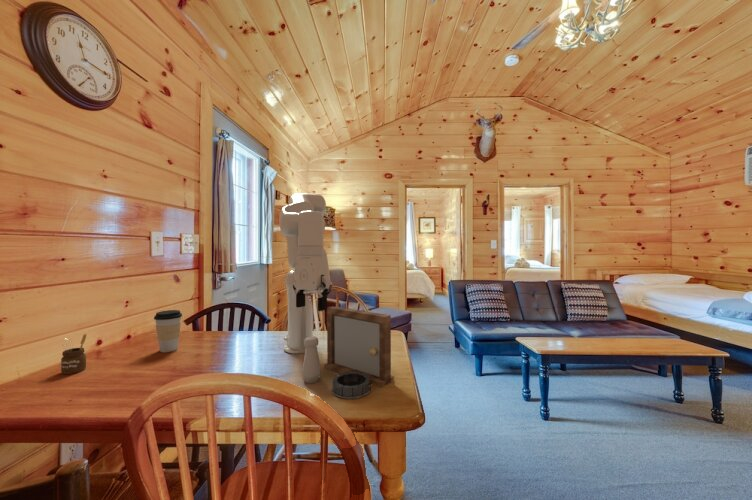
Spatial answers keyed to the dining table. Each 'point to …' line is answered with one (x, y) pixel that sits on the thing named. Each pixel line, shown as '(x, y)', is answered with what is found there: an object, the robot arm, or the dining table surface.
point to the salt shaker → (311, 361)
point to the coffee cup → (168, 329)
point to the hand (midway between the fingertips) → (311, 308)
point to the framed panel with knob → (383, 343)
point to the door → (357, 344)
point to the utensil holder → (73, 359)
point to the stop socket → (351, 385)
